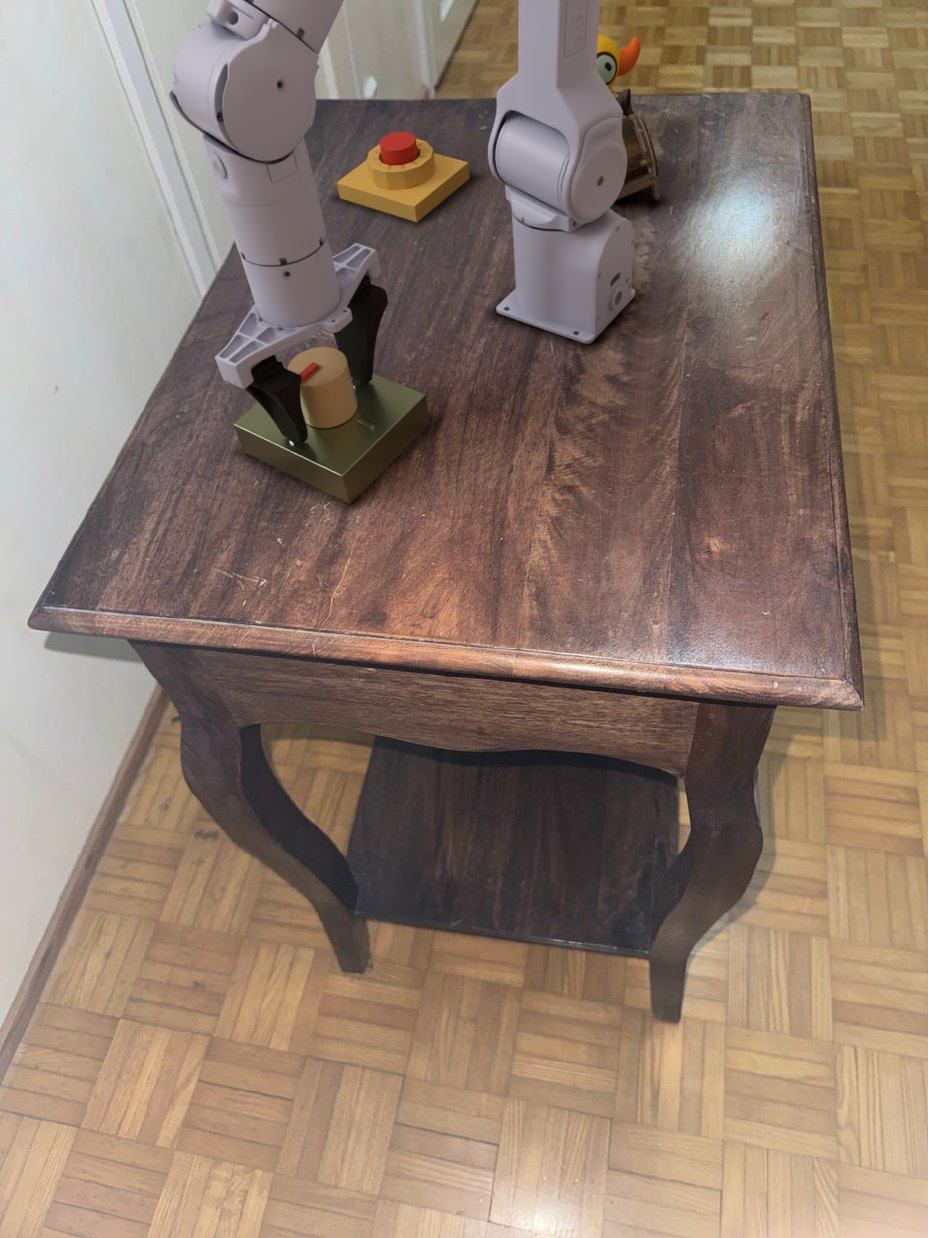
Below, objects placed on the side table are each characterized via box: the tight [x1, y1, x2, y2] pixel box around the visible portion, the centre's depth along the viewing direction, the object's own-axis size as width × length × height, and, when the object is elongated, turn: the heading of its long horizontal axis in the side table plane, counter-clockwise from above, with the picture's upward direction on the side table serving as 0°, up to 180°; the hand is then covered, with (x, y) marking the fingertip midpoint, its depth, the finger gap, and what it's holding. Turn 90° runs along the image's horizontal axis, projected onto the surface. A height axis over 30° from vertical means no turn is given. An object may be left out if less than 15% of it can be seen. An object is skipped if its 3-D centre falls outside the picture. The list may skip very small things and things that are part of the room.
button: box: [379, 131, 418, 166], centre depth 89 cm, size 4×4×2 cm
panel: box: [233, 372, 431, 505], centre depth 70 cm, size 11×10×3 cm
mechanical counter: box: [615, 113, 661, 202], centre depth 85 cm, size 7×13×10 cm
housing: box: [336, 138, 471, 223], centre depth 91 cm, size 10×9×4 cm
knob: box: [287, 346, 357, 428], centre depth 67 cm, size 4×4×4 cm
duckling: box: [596, 33, 642, 92], centre depth 90 cm, size 11×5×10 cm, turn 110°
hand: (328, 406), depth 69 cm, fingers open, 7 cm apart
